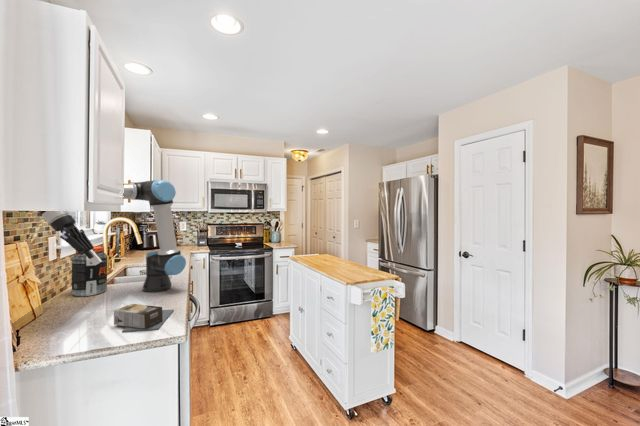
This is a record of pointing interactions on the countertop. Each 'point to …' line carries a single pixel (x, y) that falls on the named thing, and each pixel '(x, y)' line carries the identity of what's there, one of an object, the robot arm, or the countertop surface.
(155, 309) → the coffee box
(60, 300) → the countertop surface
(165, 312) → the mat
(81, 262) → the supplement tub
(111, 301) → the countertop surface
